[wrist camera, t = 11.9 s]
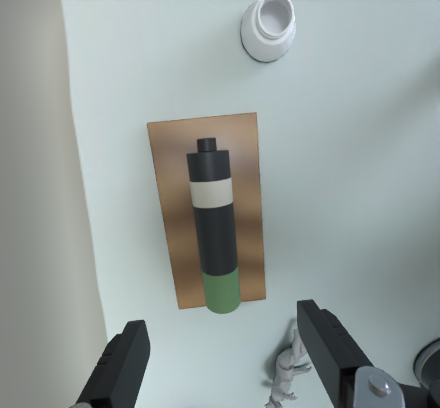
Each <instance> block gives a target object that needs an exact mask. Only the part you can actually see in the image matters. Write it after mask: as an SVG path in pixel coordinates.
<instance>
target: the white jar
mask: <svg viewBox="0 0 440 408" xmlns="http://www.w3.org/2000/svg"><path fill="white" fill-rule="evenodd" d="M295 31H296V25H295V17H294V9H293V5H292V3H291V1H290V0H256V1H254V2H253V3H252V4H251V5H250V6H249V7H248V9H247V11H246V13H245V14H244V16H243V19H242V26H241V37H242V42H243V45H244V47H245V48H246V50H247V52H248V53H249V54H250V55H251V56H252V57H254V58H255V59H257V60H259V61H264V62H270V61H273V60H277V59H279V58H280V57H281V56H282V55H284V54H285V53H286V52H287V51H288V49H289V47H290V46H291V44H292V42H293V41H294V36H295Z"/></svg>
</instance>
